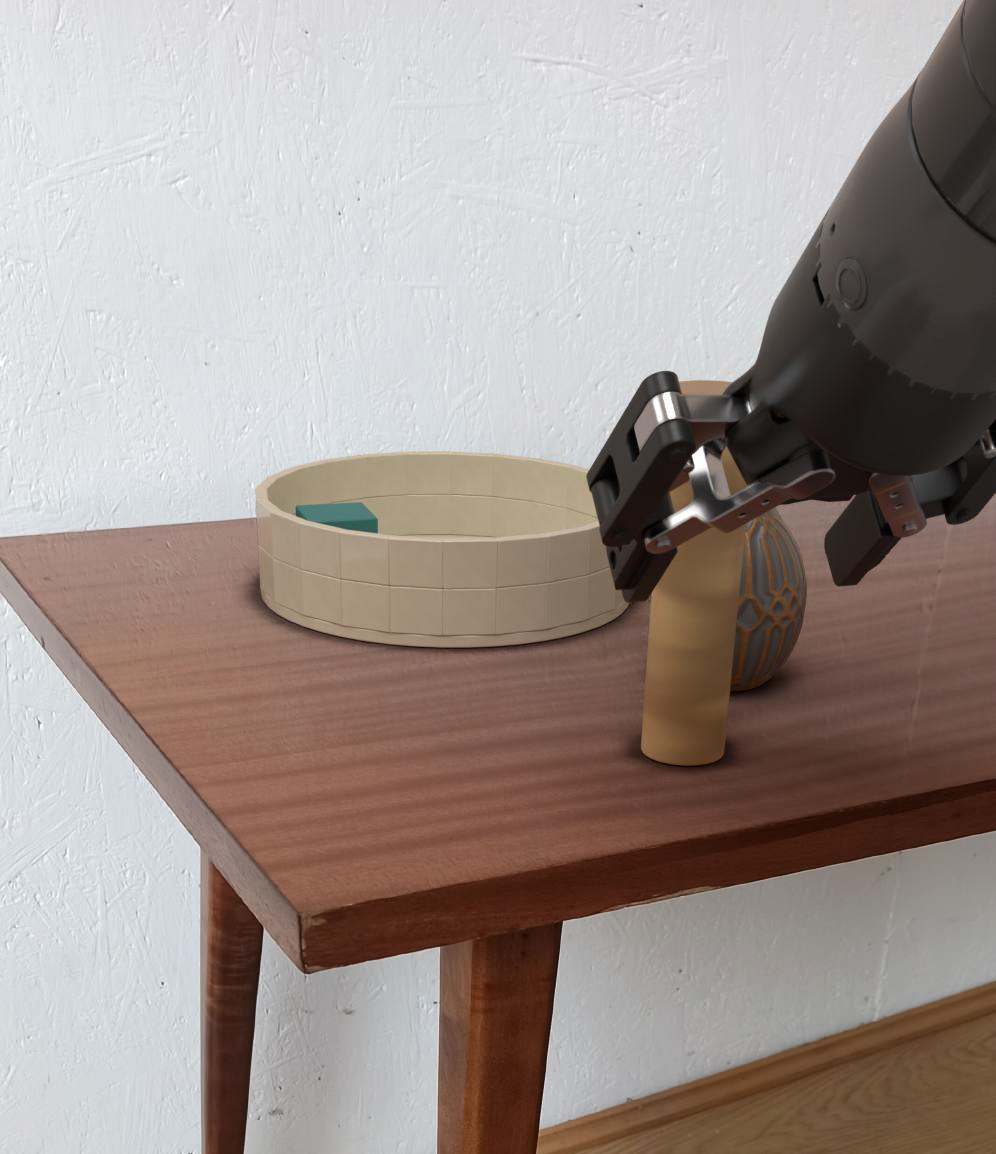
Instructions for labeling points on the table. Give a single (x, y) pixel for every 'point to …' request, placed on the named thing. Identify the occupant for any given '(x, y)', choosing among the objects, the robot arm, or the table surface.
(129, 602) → the table surface
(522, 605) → the bowl
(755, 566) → the vase
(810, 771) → the table surface
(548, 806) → the table surface
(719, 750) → the stick
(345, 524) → the block
